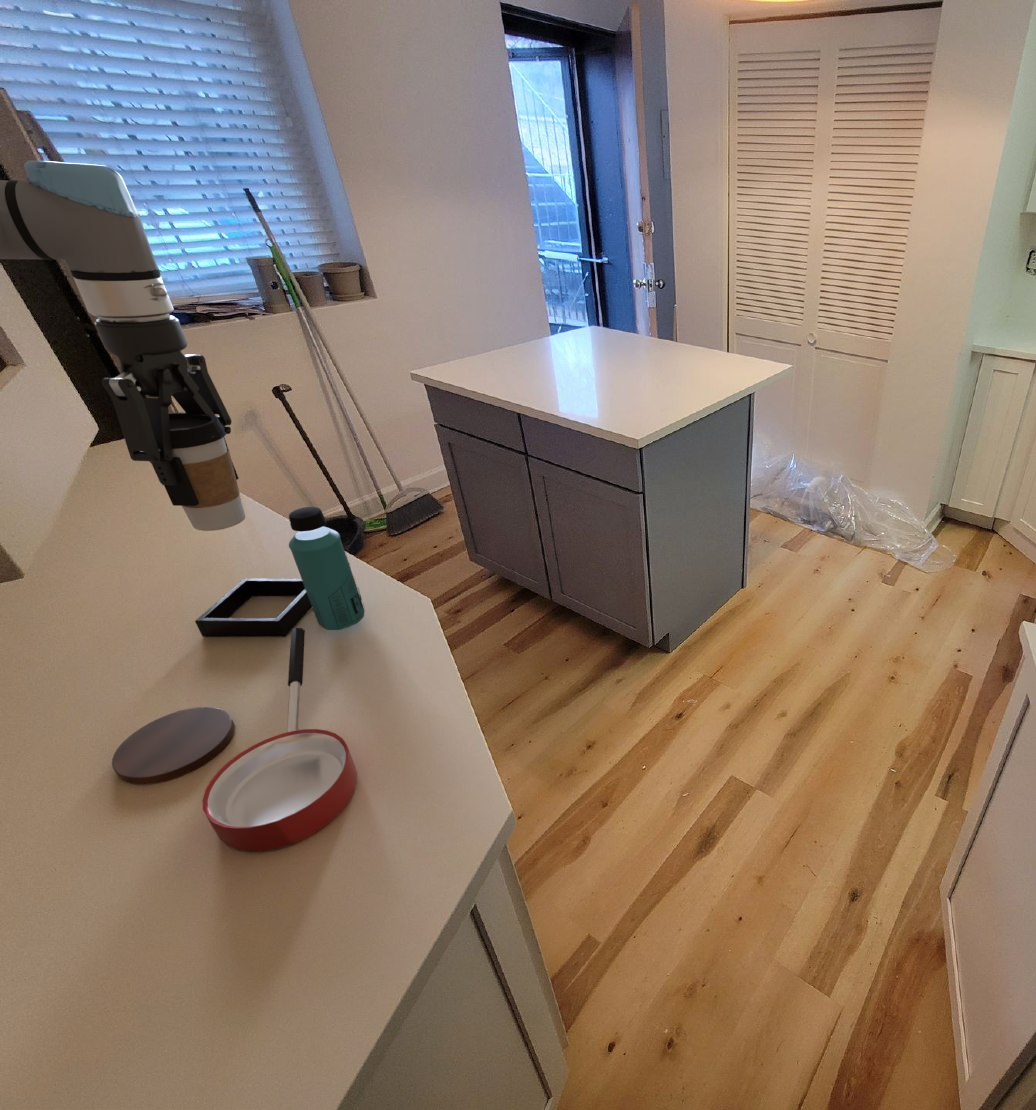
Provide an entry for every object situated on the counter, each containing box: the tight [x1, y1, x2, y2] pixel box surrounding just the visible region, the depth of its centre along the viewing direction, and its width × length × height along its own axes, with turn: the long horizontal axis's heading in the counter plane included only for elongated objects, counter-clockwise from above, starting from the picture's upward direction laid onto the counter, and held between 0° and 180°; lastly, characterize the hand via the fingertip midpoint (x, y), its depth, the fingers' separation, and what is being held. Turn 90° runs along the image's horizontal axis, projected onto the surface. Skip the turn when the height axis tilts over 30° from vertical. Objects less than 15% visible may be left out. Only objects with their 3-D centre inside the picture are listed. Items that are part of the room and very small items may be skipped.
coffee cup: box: [158, 412, 246, 532], centre depth 82 cm, size 8×8×15 cm
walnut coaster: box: [111, 706, 236, 785], centre depth 73 cm, size 11×11×1 cm
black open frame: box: [194, 577, 313, 638], centre depth 95 cm, size 12×12×3 cm
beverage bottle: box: [288, 506, 366, 631], centre depth 89 cm, size 6×7×20 cm
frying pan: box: [201, 627, 358, 853], centre depth 73 cm, size 32×13×6 cm, turn 33°
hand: (207, 491), depth 83 cm, fingers closed on coffee cup, 8 cm apart
